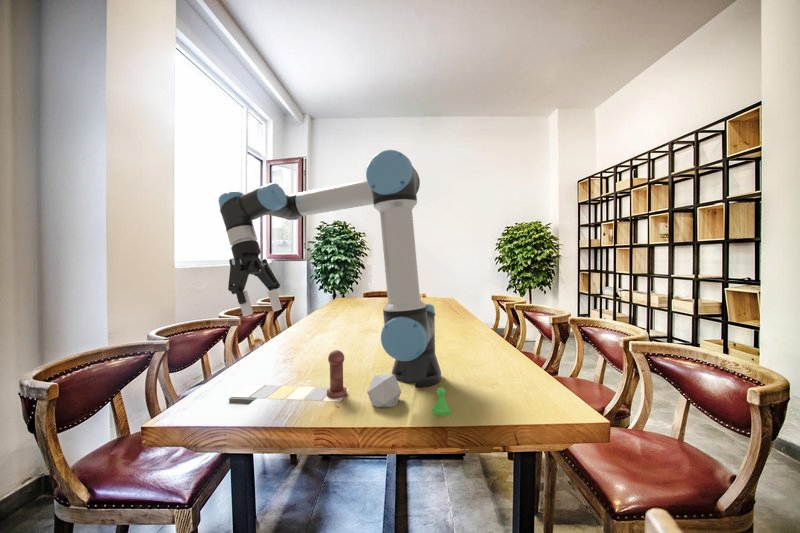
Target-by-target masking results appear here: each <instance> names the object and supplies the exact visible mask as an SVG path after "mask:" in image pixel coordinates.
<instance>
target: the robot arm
mask: <svg viewBox="0 0 800 533" xmlns="http://www.w3.org/2000/svg"><path fill="white" fill-rule="evenodd" d="M365 178H366V180H365V179H364V180H359V181H355V182H349V183H345V184H339V185H334V186H330V187H329V186H328V187H324V188H317V189H312V190H307V191H302V192H298V193H297V192H296V193H291V194H286V193H285V191H284V189H283V188H282V187H281V186H280V185H279V184H278V183H275V182H270V183H267V184H265V185H262V186H260V187H258V188H256V189H253V190H252V191H249V192H248V193H246V194H244V193H243V192H241V191H237V190H236V191H235V190H232V191H230V192H224V193H222V194H221V195H220V196H219V197H218V204H219V205H218V206H219V212H220V214H221V218H222V220H223V223H224V227H225V230H226V233H227V237H228V241H229V245H230V246H231V247H230V250H231V253H232V257H233V258H230V259H229V260H228V262H229V265H230V266H229V268H230V269H229V276H228V277H229V278H228V287H227V290H228V291H229V292H231V294H232V295H236V299H237V302H238V304H239V306H240V311H241V314H242V317H247V316H250V315H252V314H254V309H253V308H252V303H251V300H250V296H249V292H248V290H246V289H245V288H246V285H247V282H248V279H249V276H250V275H252V276H255V277H257V278H258V279H259V280H260V282H261V283H262V284H263V286H264V287H265V288H266V289H267V290H268V291H267V296H268V298H269V302H270V305H271V308H272V309H271V310H272V312H273V313H274V312H278V311H280V310H282V309H283V307H282V303H281V302H280V296H279V292H278V289H280V287H281V284H280V282H279V281H278V279H277V277H276V275H275V273H274V272H273V271H272V268H271V267H270V266H269V263H268V260H267V258H264V259H260V257H259V256H260V255H261V247H260V245H259V242H258V238H257V234H256V231H255V227H254V224H253V221H254V220H257V219H260V218H261V217H264V216H272V217H277V218H280V219H285V220H289V221H293V220H294V221H296V220H299V219H300V218H302V217H305V216H313V215H317V214H323V213H329V212H335V211H341V210H347V209H354V208H359V207H363V206H371V205H373V208H374V209H376V210H377V211H378V213H379V217H380V225H381V226H380V227H381V237H382V238H381V239H382V249H383V250H382V251H383V261H384V262H383V263H384V272H385V281H386V282H385V285H386V294H387V303H386V304H385V305H384V307H383V308H382V311H383V312H382V314H383V324H384V326H383V327H382V329H381V333H380V343H381V346H382V349H384V352H386V354H387V355H388V356H390V357H391V358H392V359H395V360H394V364H393V367H392V370H391V375H394V374H395V377H396V379H397V382H401V383H405V384H414V387H415V388H422V387H423V388H424V387H429V386H430V387H431V386H433V385H437V384H438V383H440V382H441V380H442V370H441V367H440V365H439V362H438V358H437V355H436V329H435V328H436V325H435V323H436V321H435V319H436V318H435V317H436V312H435V307H434V305H433V304H430V303H425V302H424V301H423V300H421V297H420V296H421V295H420V286H419V284H420V283H419V274H418V262H417V251H416V239H415V229H414V217H413V209H414V208H415V207H416V205H417V204H418V200H417V198H418V197H417V194H418V192H419V190H420V185H421V184H420V183H421V181H420V176H419V174H418V172H417V170H416V169H415V168H414V166H413V164H412V162H411V160H410V159H409V158H408V157H407V156H406V155H405V154H403V152H400V151H398V150H395V149H386V150H382V151H380V152H378V153H376V154H375V155H374V156H373V157H372V158H371V159H370V160H369V162H368V164H367V167H366V170H365Z"/></svg>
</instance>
